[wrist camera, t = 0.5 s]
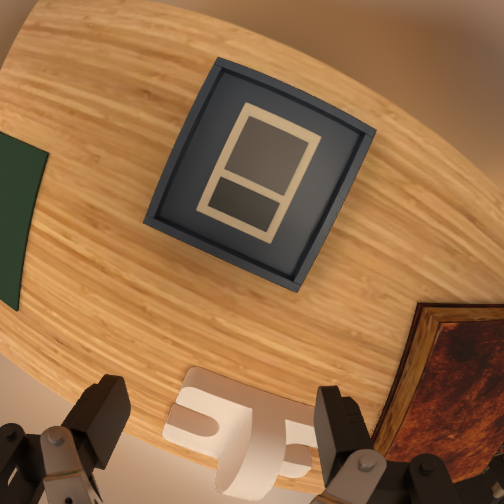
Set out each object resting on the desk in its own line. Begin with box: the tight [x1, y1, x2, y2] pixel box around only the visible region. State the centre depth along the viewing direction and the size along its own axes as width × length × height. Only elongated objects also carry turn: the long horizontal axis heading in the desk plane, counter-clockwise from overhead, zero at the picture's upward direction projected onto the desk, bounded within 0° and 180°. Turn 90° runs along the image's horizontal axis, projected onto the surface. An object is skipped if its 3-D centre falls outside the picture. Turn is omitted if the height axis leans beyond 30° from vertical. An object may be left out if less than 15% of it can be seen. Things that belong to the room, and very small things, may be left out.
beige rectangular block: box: [196, 102, 321, 244], centre depth 25 cm, size 9×6×4 cm
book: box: [371, 303, 504, 484], centre depth 30 cm, size 30×24×5 cm
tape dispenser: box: [162, 367, 318, 501], centre depth 28 cm, size 10×18×11 cm, turn 66°
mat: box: [0, 132, 49, 311], centre depth 29 cm, size 20×10×1 cm, turn 155°
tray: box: [143, 57, 377, 293], centre depth 26 cm, size 16×15×2 cm
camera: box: [454, 444, 504, 504], centre depth 30 cm, size 11×14×15 cm
